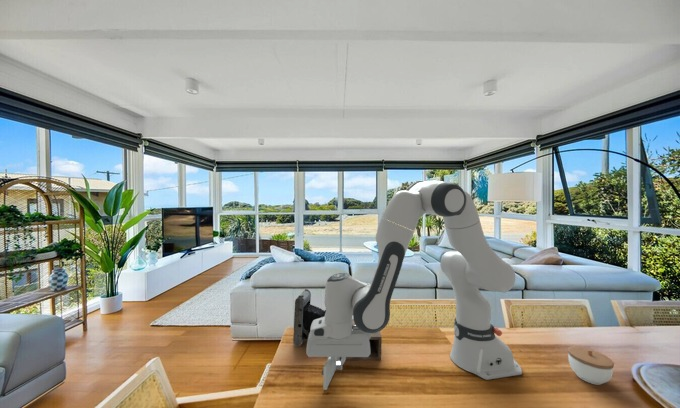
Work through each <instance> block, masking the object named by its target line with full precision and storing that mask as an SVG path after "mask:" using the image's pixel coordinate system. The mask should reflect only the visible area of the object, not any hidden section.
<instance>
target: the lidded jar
mask: <svg viewBox="0 0 680 408" xmlns="http://www.w3.org/2000/svg"><path fill="white" fill-rule="evenodd" d="M567 352H568V353H567V356H568V358H567V359H568V363H569V366H570V368H571V370H572V371H573V372H574V373H575V374H576V376H577V377H578V378H579V379H581V380H583V381H585V382H586V383H588V384H590V385H591V384H592V385H596V386H600V385H603V384H606V383H608V382H609V381H610V380H611V379H612V376H613V372H614V367H615V366H614V361H613V360H612V358H610V357H608V356H607V355H605V354H603V353H601V352H600V351H597V350H594V349H591V348H588V347H584V346H579V345H578V346H577V345H571V346H569V347H568V348H567Z"/></svg>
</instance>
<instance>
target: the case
mask: <svg viewBox="0 0 680 408" xmlns="http://www.w3.org/2000/svg"><path fill="white" fill-rule="evenodd" d="M352 325H356V324H355V322H354V319H353V318H352ZM369 342H370V352H371V353H370V355H369V356H368V357H346V360H345V361H347V360H348V361H351V360H352V361H357V360H359V361H381V360H382V334H381V331H379V332H376V333H371V338H370V339H369ZM340 361H341V357H340Z"/></svg>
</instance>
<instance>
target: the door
mask: <svg viewBox="0 0 680 408" xmlns="http://www.w3.org/2000/svg"><path fill="white" fill-rule="evenodd" d="M335 359H336V361H341V360H340V357H335ZM335 372H336V370H334V364H333V362H332V361H331V357H327V360H326V361H325V363H324V365H323V369H322V370H321V376H322V377H323V380H322V381H323V382H322V383H323V385H322V387H323V388H322V390H325V391H327V390H328V388H329V385H330V383H331V380H332V379H333V376H334V374H335Z"/></svg>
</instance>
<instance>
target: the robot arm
mask: <svg viewBox="0 0 680 408" xmlns="http://www.w3.org/2000/svg"><path fill="white" fill-rule="evenodd" d="M425 214H427V215H433V216H440V217H442V219H443V224H444V227H445V231H446V235H447V239H448V241H449V244H450V245H451V247H452V248H453V249H454V250H450V251H446V252H445V253H444V254H443V255H442V256H441V258H440V269H441V271H442V274H444V275H445V277H447V279H448V281H449V283H450V285H451V288H452V290H453V293H454V297H455V298H454V299H455V318H454V325H453V326H454V327H453V333H454V339H453V344H452V348H451V350H450V354H449V357H450V359H451V362H453V363H454V364H455V365H456V366H457V367H459V368H461V369H462V370H465V371H467V372H469V373H472V374H474V375H476V376H478V377H480V378H482V379H483V380H487V381H489V380H492V379H500V378H507V377H512V376H521V375H523V371H522V370H523V369H522V367H521V365H520V364H519V363H518V362H517V360H515V359H514V355H513V352H512V350H511V348H510V347H509V346H508V345H507V344H506V343H505V342H503V341H502V340H501V338H499V337H501V336H503V331H502V330H500V329H499V327H495V326H494V325H493V324H492V323H491V322H492V321H491V319H492V318H491V314H492V307H491V304H490V302H489V300H488V299H487V298H486V297H485V296H484V295H483V294H482V292H481V290H480V289H482V290H486V291H489V292H493V293H494V292H497V293H503V294H504V293H507V292H509V291H510V290H512V288H513V287H514V286H515V284H516V272H515V269H513V267H512V265H511V264H509V263H508V262H507V261H505V260H503V259H502V258H501V257H500V256H499V255H498V254H497V253H496V252H495V251H494V250H493V248H492V247H491V246H490V244H489V243H488V241H487V239H486V237H485V235H484V231H483V228H482V224H481V221H480V216H479V213H478V209H477V207H476V204H475V201H474V200H473V198H472V196H471V195H470V194H469V192H467V191H465V190H464V189H463V188H462V187H461V186H460V185H459V184H456V183H454V182H450V181H442V180H426V181H425V180H419V181H416V182H413V183H412V184H410V185H409V186H408V187H407V188H406V190H399V191H397V192H395V193H394V194H393V196H392V197H391V198H390V200H389V202H388V203H387V205H386V207H385V209H384V211H383V213H382V216H381V218H380V220H379V223H378V226H377V229H376V234H375V240H376V245H377V251H378V262H377V266H376V269H375V272H374V275H373V277H372V280H371V282H369V281H362V280H359V279H357V278H356V277H353V276H352V275H350V274H349V273H347V272H339V273H335V274H332V275H331V276H329V277H328V278H327V280H326V283H325V286H324V287H325V288H324V306H325V310H326V312H325V316H324V317H321V318H318V319H315V320H313V322H312V324H311V329H310V333H309V337H308V339H307V342H306V349H305V350H306V351H305V352H306V356H308V358H329V357H331V361H332V362H333V364H334V370H335V371H337V370H341V371H342V370H343V365H344V364H345V362H346V361H347V360H346V357H368V356H369V355H370V353H371V352H370V342H369V339H370V338H371V333H376V332H379V331H380V332H381V331H382V330H384V329H385V328H386V327H387V326H388V324H389V323H390V322H389V321H390V317H391V309H390V308H391V300H392V295H393V293H394V290H395V287H396V284H397V281H398V279H399V275H400V272H401V269H402V266H403V263H404V259H405V257H406V255H407V254H406V253H407V251H408V248H409V245H410V243H411V241H412V239H413V236H414V233H415V231H416V228H417V226H418V223H419V220H420V219H421V217H422V216H424V215H425ZM352 319H354V322H355V324H356V325H352ZM335 357H341V360H340V361H336V359H335Z"/></svg>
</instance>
